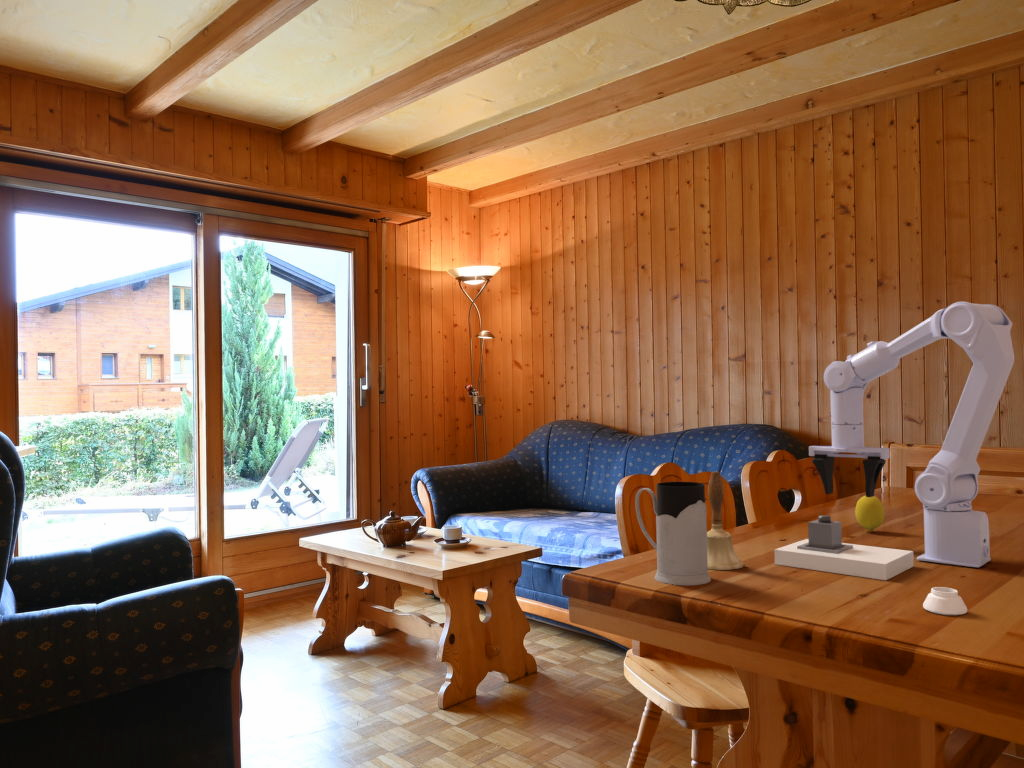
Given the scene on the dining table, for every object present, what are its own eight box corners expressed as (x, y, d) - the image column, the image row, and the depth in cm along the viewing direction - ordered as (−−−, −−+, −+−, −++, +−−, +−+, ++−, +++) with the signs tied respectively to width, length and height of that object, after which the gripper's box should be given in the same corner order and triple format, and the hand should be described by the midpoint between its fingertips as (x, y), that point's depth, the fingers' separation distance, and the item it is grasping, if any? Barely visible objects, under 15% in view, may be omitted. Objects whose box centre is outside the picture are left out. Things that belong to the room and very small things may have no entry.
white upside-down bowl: (975, 614, 100) (938, 605, 104) (974, 591, 100) (937, 583, 105) (951, 619, 98) (915, 610, 102) (951, 596, 98) (914, 588, 102)
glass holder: (685, 588, 115) (682, 488, 116) (619, 572, 127) (617, 481, 127) (722, 579, 121) (720, 484, 121) (655, 564, 132) (654, 477, 132)
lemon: (857, 533, 158) (856, 494, 158) (854, 529, 163) (853, 491, 163) (887, 534, 156) (886, 495, 156) (882, 530, 161) (881, 492, 161)
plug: (842, 562, 131) (841, 515, 131) (832, 566, 128) (831, 518, 128) (819, 559, 134) (818, 513, 134) (809, 563, 131) (808, 516, 131)
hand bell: (684, 565, 131) (682, 472, 131) (709, 558, 137) (707, 468, 137) (728, 573, 125) (726, 475, 125) (752, 564, 131) (750, 471, 131)
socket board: (913, 566, 127) (913, 548, 127) (885, 580, 118) (885, 561, 118) (807, 552, 140) (806, 536, 140) (774, 564, 131) (774, 547, 131)
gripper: (801, 424, 149) (803, 494, 149) (879, 425, 139) (881, 500, 139) (816, 423, 154) (818, 490, 154) (892, 424, 144) (894, 496, 144)
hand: (849, 495), depth 147 cm, fingers open, 7 cm apart
